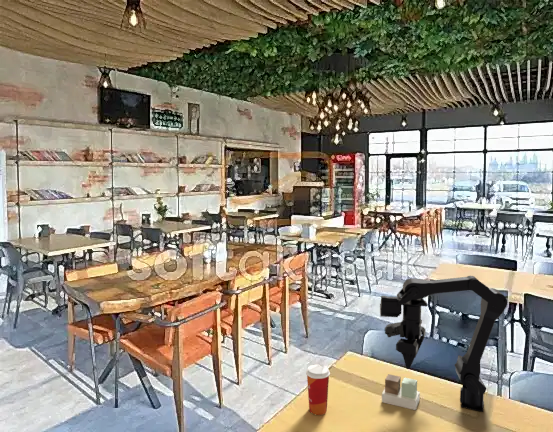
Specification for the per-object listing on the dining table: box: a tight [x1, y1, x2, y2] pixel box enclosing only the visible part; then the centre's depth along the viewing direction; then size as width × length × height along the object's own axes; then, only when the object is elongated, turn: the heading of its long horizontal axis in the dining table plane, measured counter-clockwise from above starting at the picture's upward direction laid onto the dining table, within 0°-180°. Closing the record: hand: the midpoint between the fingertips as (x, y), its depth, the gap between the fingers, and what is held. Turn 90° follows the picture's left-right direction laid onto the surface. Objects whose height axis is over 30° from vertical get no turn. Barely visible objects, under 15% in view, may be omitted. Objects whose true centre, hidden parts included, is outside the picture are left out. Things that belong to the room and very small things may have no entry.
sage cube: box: [400, 377, 418, 399], centre depth 143 cm, size 4×4×4 cm
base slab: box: [381, 386, 421, 411], centre depth 145 cm, size 11×7×3 cm, turn 62°
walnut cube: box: [384, 374, 402, 395], centre depth 146 cm, size 4×4×4 cm
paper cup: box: [305, 364, 331, 416], centre depth 139 cm, size 8×8×14 cm
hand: (410, 363), depth 144 cm, fingers open, 9 cm apart
